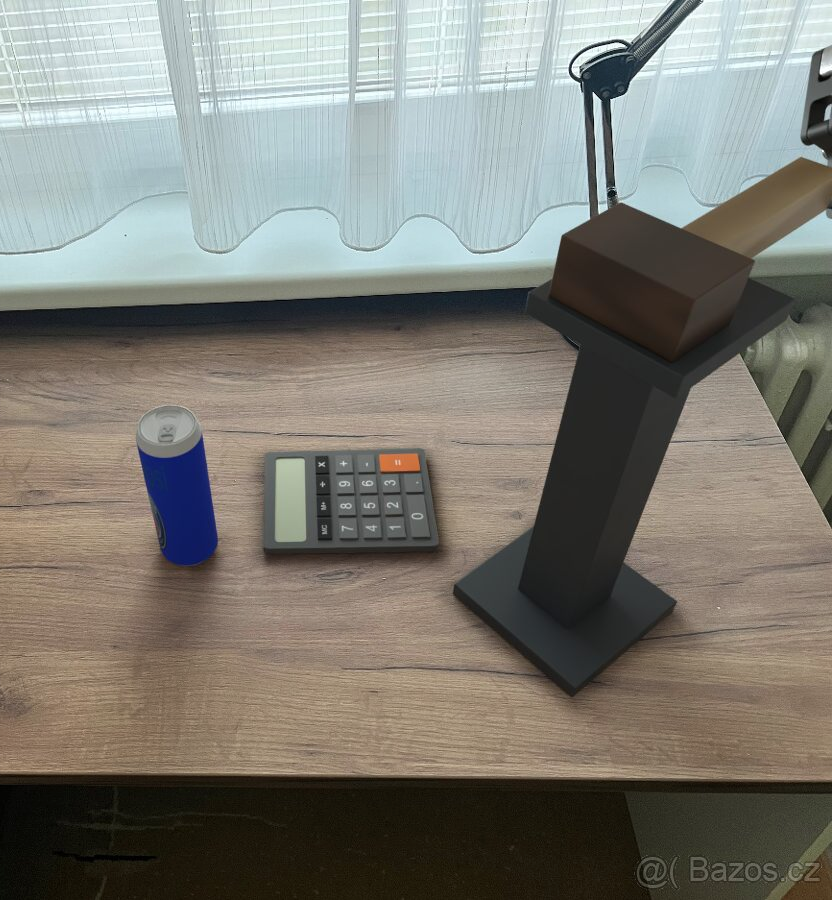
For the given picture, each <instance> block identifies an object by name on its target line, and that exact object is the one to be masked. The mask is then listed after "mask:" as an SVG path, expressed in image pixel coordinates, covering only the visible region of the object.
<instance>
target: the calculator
mask: <svg viewBox="0 0 832 900" xmlns="http://www.w3.org/2000/svg"><path fill="white" fill-rule="evenodd" d="M427 464H428V463H427V457H426V452H425V449H423V448H419V447H416V448H413V447H412V448H377V449H375V448H373V449H342V450H341V449H340V450H339V449H337V450H302V451H301V450H300V451H269V452H265V455H264V486H263V488H264V489H263V490H264V491H263V492H264V495H263V531H262V540H263V541H262V547H263V549H262V550H263V553H264V554H267V555H271V554H272V555H273V554H274V555H276V554H277V555H278V554H282V555H283V554H343V553H345V554H347V553H350V554H351V553H408V552H409V553H411V552H437V551H438V549H439V543H440V541H439V534H438V527H437V522H436V517H435V515H436V514H435V509H434V503H433V496H432V490H431V483H430V478H429V477H430V476H429V471H428V465H427Z"/></svg>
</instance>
